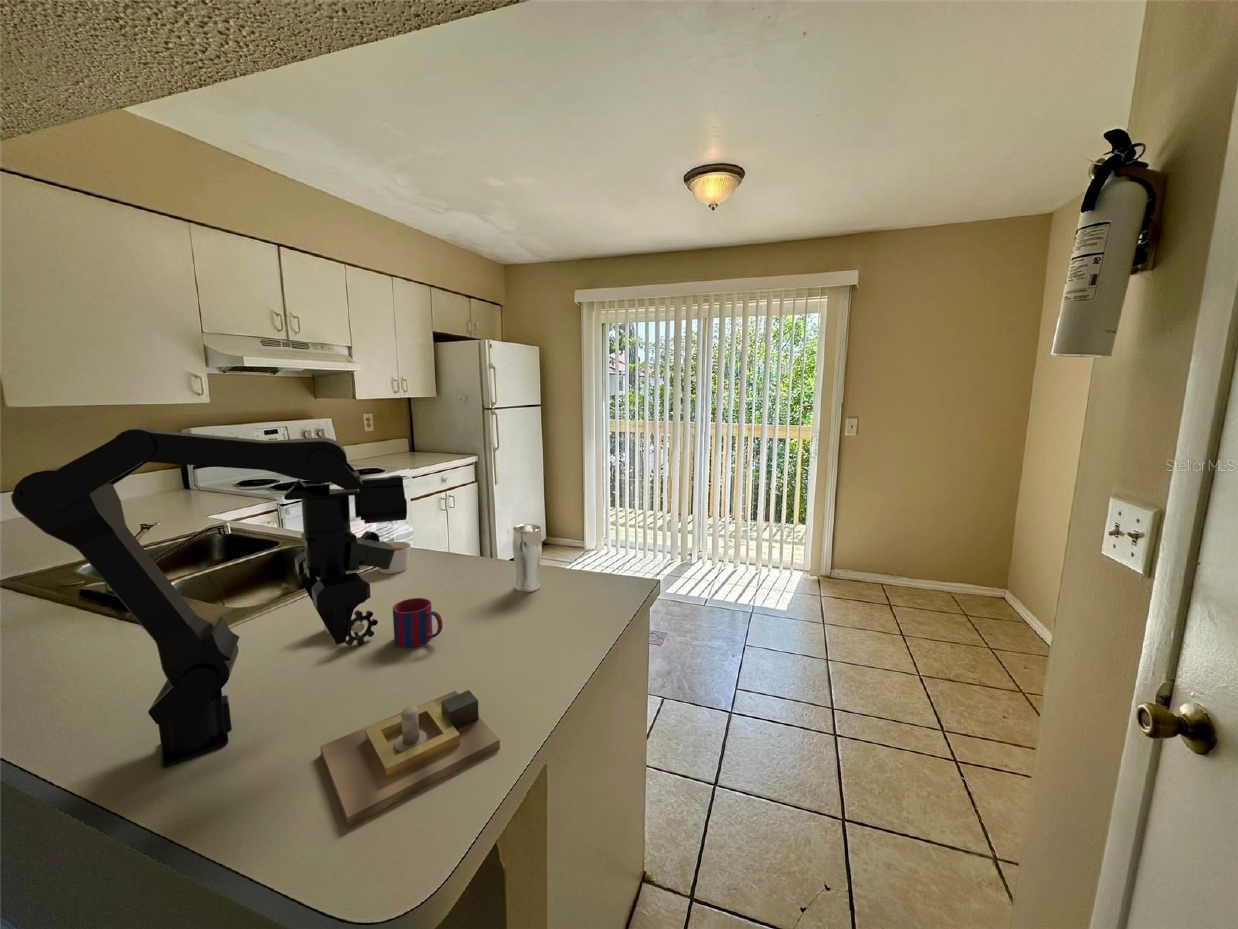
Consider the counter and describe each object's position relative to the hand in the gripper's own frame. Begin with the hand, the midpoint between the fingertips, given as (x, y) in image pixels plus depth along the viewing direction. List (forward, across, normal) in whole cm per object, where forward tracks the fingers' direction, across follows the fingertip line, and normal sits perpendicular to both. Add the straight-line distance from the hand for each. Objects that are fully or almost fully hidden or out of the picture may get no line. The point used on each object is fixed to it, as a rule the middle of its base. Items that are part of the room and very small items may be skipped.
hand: (333, 630), depth 70 cm
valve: (+12, +23, -6) cm, 26 cm away
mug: (+12, +12, -16) cm, 23 cm away
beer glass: (+12, +21, -45) cm, 51 cm away
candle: (+12, +54, -23) cm, 60 cm away
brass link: (+11, -17, -7) cm, 21 cm away
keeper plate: (+12, -17, -5) cm, 21 cm away
